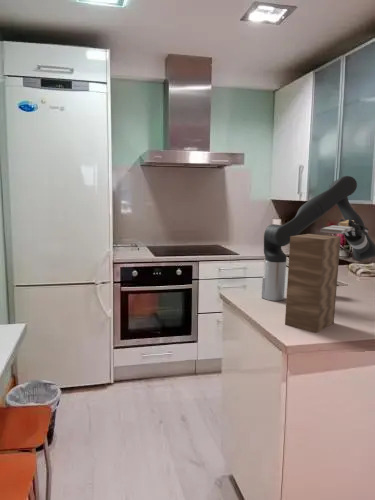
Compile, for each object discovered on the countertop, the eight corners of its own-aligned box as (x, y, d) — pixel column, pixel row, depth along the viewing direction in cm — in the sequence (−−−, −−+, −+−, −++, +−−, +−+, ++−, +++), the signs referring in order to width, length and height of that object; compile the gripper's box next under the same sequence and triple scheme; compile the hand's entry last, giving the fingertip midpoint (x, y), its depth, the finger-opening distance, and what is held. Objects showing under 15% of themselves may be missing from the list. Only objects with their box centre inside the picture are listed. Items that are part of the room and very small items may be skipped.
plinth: (316, 332, 135) (323, 239, 131) (284, 324, 143) (290, 236, 138) (333, 322, 146) (340, 236, 142) (303, 315, 154) (308, 233, 150)
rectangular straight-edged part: (341, 233, 145) (342, 226, 145) (320, 231, 150) (320, 225, 150) (360, 227, 162) (360, 220, 161) (340, 225, 167) (341, 219, 166)
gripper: (341, 228, 177) (330, 212, 164) (375, 231, 168) (365, 213, 155) (337, 244, 175) (326, 228, 162) (371, 247, 166) (361, 231, 153)
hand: (345, 221), depth 159 cm, fingers closed on rectangular straight-edged part, 2 cm apart
